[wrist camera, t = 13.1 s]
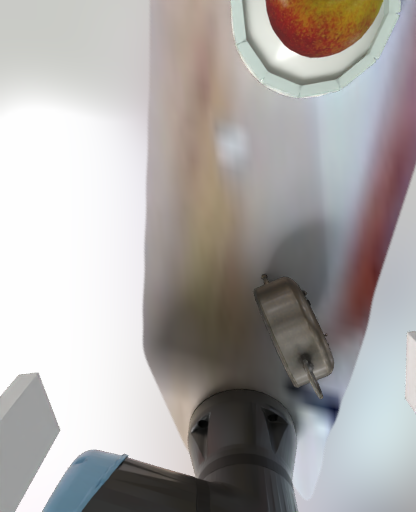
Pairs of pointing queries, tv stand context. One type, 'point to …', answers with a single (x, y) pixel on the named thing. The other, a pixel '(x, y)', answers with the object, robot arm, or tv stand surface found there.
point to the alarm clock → (294, 331)
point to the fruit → (321, 24)
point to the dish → (300, 67)
